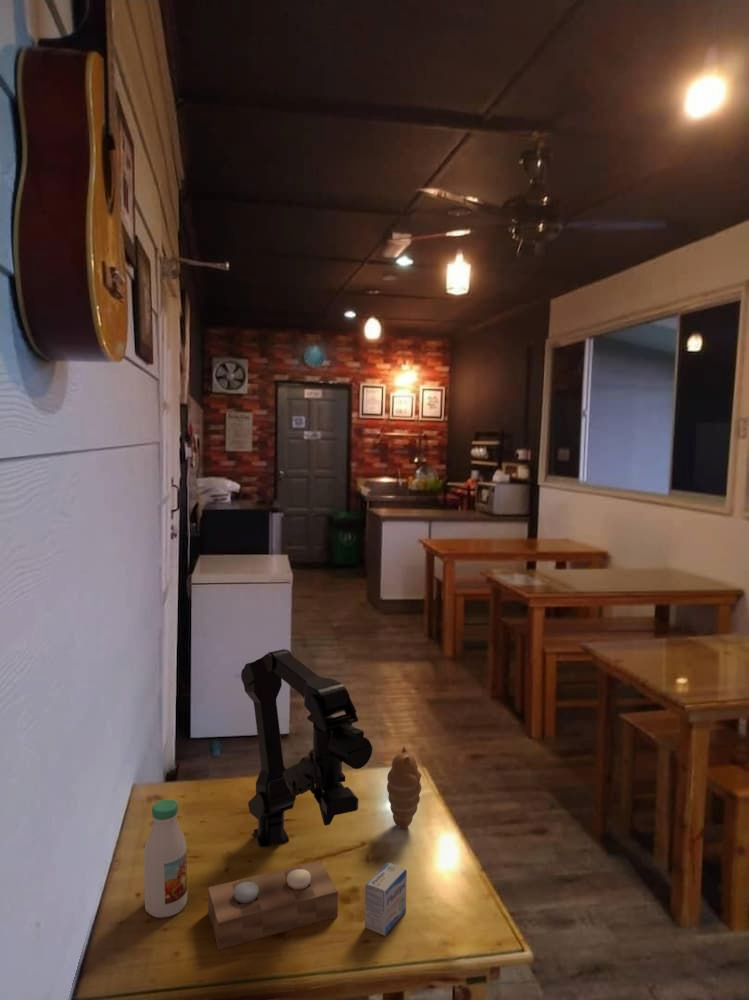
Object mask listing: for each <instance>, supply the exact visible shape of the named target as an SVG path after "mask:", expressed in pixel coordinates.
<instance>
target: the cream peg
mask: <svg viewBox="0 0 749 1000" xmlns="http://www.w3.org/2000/svg"><path fill="white" fill-rule="evenodd" d="M310 882H311V875H310V873H309V872H308V871H306V870H303V869H296V870H293V871H291V872H290V873H289V874H288V875H287V884H288V886H289V887H291V889H292V891H295V890H299V889H303V888H306V887H307V886H308V885H309V884H310Z"/></svg>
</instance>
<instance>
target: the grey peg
mask: <svg viewBox="0 0 749 1000" xmlns="http://www.w3.org/2000/svg"><path fill="white" fill-rule="evenodd" d="M257 897H258V886H257V884H255V883H253V882H243V883H240V884H238V885H237V886H236V887H235V889H234V898H235V900H236V901H238V905H240V904H244V903H248V902H252V901H254V900H255V899H256V898H257Z"/></svg>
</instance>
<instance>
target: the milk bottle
mask: <svg viewBox="0 0 749 1000" xmlns="http://www.w3.org/2000/svg"><path fill="white" fill-rule="evenodd" d="M178 810H179V806H178V802H177V801H176V800H173V799H166V798H165V799H161V800H158V801H156V802H155V803H154V804H153V805H152V808H151V815H152V816H151V817H152V820H153V821H152V822H153V823H152V826H151V830H150V832H149V834H148V836H147V839H146V841H145V846H144V850H143V851H144V854H143V855H144V858H143V862H144V863H143V868H144V869H143V871H144V872H143V876H144V877H143V878H144V880H143V882H144V909H145V911H146V913H147V912H148V913H149V914H150V915H149V914H148V913H147V914H148V915H149V916H151V915H152V916H151V917H153V916H154V917H153V918H157V919H159V918H160V919H163V918H164V919H165V918H170V917H172V916H174V915H177V914H178V913H180V912H182V910H184V908H185V906H186V904H187V902H188V859H187V858H188V853H187V851H188V850H187V843H186V842H187V841H186V837H185V835H184V832H183V831H182V828H181V827H180V824H179V823H178V818H177V817H178Z"/></svg>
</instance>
